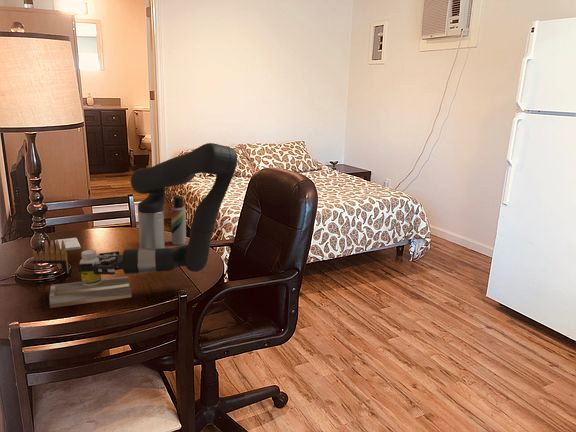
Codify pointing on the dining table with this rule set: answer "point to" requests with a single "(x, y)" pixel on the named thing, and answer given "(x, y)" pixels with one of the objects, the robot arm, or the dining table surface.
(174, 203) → the lotion bottle
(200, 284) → the dining table surface
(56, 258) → the ammunition clip
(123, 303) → the dining table surface
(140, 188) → the robot arm
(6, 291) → the dining table surface
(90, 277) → the supplement bottle
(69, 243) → the external hard drive
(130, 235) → the dining table surface
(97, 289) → the track
